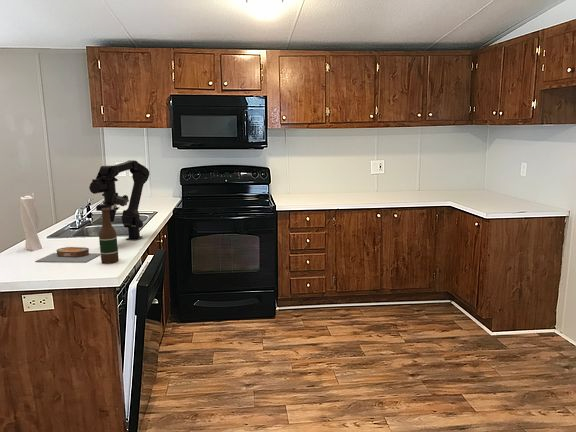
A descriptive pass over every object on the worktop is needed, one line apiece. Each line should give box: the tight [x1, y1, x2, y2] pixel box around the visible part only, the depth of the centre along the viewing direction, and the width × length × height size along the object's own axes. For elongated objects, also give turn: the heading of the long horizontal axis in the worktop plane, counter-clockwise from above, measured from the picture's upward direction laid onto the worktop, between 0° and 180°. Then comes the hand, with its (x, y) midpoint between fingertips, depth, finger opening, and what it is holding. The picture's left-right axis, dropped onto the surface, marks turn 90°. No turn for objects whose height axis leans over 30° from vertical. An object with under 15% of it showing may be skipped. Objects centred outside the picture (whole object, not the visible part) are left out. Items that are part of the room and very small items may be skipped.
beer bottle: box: [98, 208, 120, 265], centre depth 207 cm, size 8×8×24 cm
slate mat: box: [35, 252, 101, 264], centre depth 216 cm, size 14×24×1 cm, turn 84°
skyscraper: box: [20, 192, 43, 251], centre depth 232 cm, size 8×8×28 cm
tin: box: [56, 246, 90, 257], centre depth 220 cm, size 15×3×8 cm
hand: (112, 222), depth 236 cm, fingers closed
